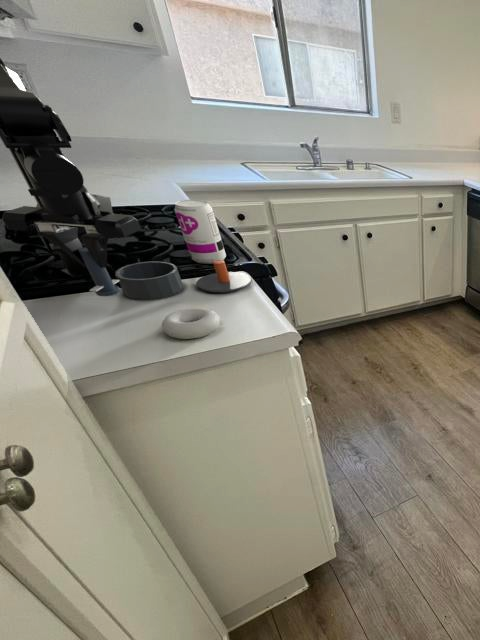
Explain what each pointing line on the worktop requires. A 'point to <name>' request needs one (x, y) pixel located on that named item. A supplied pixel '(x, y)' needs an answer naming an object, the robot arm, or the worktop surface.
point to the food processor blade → (99, 275)
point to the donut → (191, 323)
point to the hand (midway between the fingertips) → (96, 266)
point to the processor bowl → (149, 280)
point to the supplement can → (200, 230)
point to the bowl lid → (223, 279)
